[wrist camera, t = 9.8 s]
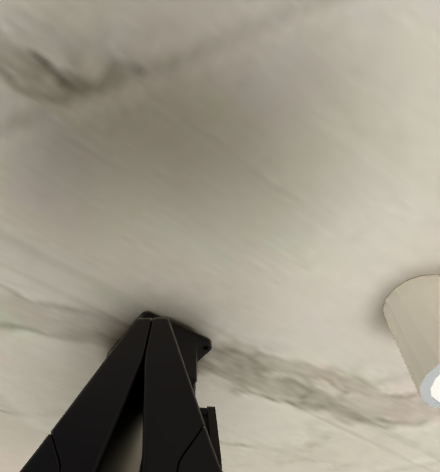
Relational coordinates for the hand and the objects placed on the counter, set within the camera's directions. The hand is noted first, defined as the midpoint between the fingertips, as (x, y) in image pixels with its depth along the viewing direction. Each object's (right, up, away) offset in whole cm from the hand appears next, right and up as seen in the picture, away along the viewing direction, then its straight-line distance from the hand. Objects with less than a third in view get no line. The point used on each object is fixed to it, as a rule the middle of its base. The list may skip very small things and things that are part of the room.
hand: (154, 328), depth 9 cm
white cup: (+17, -3, +19) cm, 26 cm away
